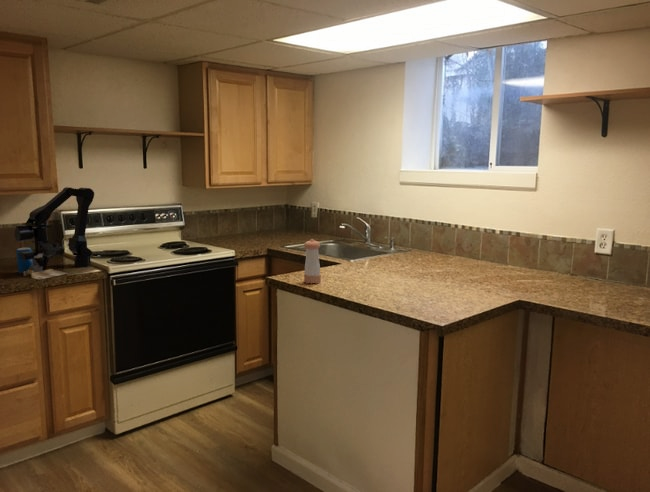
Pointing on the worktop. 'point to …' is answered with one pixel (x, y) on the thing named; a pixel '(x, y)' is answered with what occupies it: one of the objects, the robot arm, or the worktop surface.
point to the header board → (44, 274)
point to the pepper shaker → (312, 262)
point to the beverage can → (23, 264)
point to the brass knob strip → (29, 273)
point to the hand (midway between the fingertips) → (43, 271)
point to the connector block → (36, 268)
